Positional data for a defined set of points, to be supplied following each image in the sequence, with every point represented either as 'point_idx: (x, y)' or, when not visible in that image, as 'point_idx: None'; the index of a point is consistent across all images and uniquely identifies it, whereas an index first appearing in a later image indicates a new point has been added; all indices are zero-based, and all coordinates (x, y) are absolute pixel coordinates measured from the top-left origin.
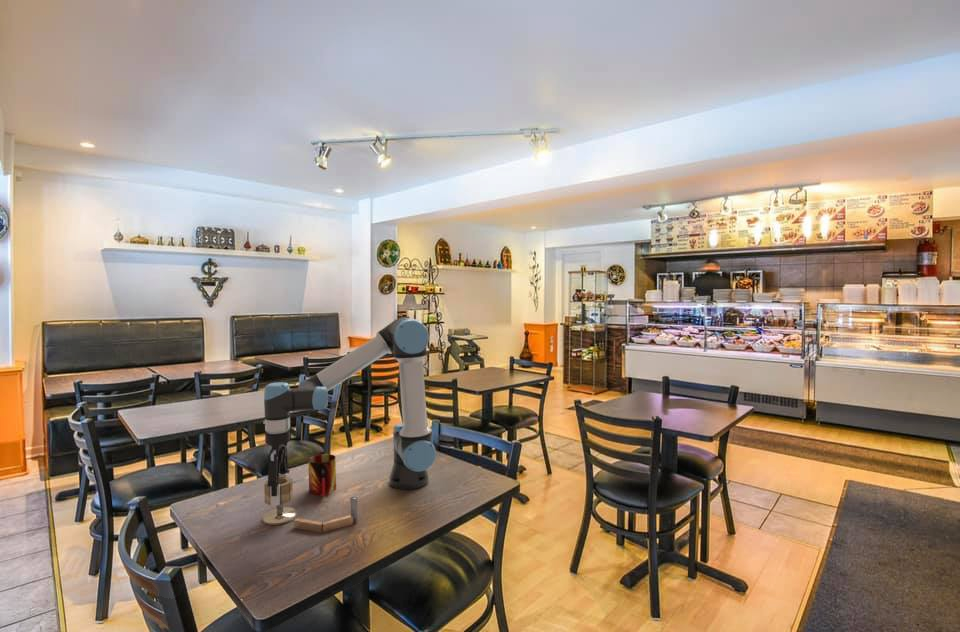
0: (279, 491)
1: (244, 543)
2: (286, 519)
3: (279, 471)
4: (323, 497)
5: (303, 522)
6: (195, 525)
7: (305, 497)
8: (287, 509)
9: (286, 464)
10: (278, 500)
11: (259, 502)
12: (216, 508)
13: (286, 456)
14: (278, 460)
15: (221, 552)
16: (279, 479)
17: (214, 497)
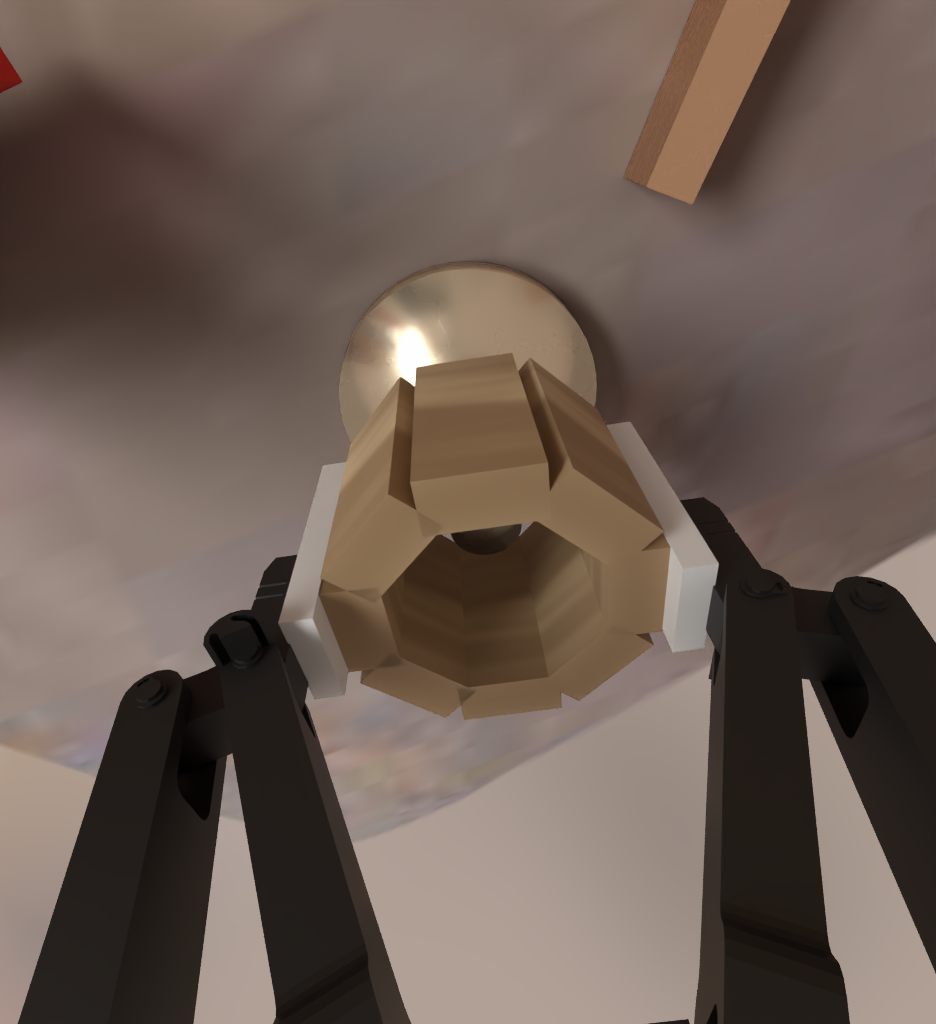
0: (669, 504)
1: (802, 466)
2: (566, 311)
3: (734, 746)
4: (12, 69)
5: (759, 61)
6: (532, 737)
7: (47, 326)
8: (380, 379)
9: (174, 757)
10: (646, 454)
11: (244, 609)
12: (355, 743)
13: (126, 944)
14: (382, 949)
15: (863, 534)
16: (395, 630)
17: (239, 793)
